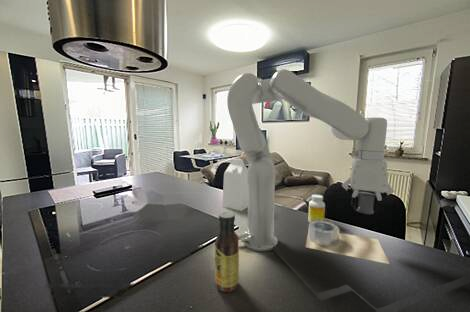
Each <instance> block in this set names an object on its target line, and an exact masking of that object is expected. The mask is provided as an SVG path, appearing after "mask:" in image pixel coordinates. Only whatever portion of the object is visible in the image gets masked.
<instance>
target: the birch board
mask: <svg viewBox="0 0 470 312" xmlns="http://www.w3.org/2000/svg"><path fill="white" fill-rule="evenodd" d="M307 231H308V232H309V229H307ZM308 232H307V233H308ZM305 248H308V249H312V250H317V251H322V252H327V253H331V254H336V255H341V256H347V257H352V258H356V259H361V260H367V261H370V262H376V263H381V264H387V265H390V261H389V259H388V257H387V255H386V254H385V251H384V249H383V247H382V245H381V242H380V241H379V239H378V238H373V237H372V238H371V237H366V236H359V235H353V234H348V233H342V232H339V243H338V244H337V246H333V247H324V246H320V245H317V244H314V243H313V242H311V241H310V240H309V237H308V235H307V236H306V241H305Z"/></svg>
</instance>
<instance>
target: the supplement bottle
mask: <svg viewBox="0 0 470 312" xmlns="http://www.w3.org/2000/svg"><path fill="white" fill-rule="evenodd" d="M323 200H324V196H323V195H321V194H312V195H311V199H310V201H309V202H308V215H307V216H308V218H307V219H308V220H307V222H309V223H310V222H312V221H325V217H326V216H325V215H326V204H325V202H324V201H323Z"/></svg>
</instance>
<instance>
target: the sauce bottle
mask: <svg viewBox="0 0 470 312" xmlns="http://www.w3.org/2000/svg"><path fill="white" fill-rule="evenodd" d="M218 220H219V230H218V233H217V236H216V238H215V242H214V274H215V275H214V281H215V285H216V287H217V289H218V290H219V291H220V292H225V293H227V292H232V291H234V290H236V289H237V287H238V284H239V279H240V278H239V277H240V275H239V273H240V271H239V270H240V263H239V261H240V259H239V257H240V255H239V253H240V248H239V240H238V236H237V234H238V233H236V232H235V220H236V215H235V213H234V212H232V211H222V212H220V213H219V215H218Z"/></svg>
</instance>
